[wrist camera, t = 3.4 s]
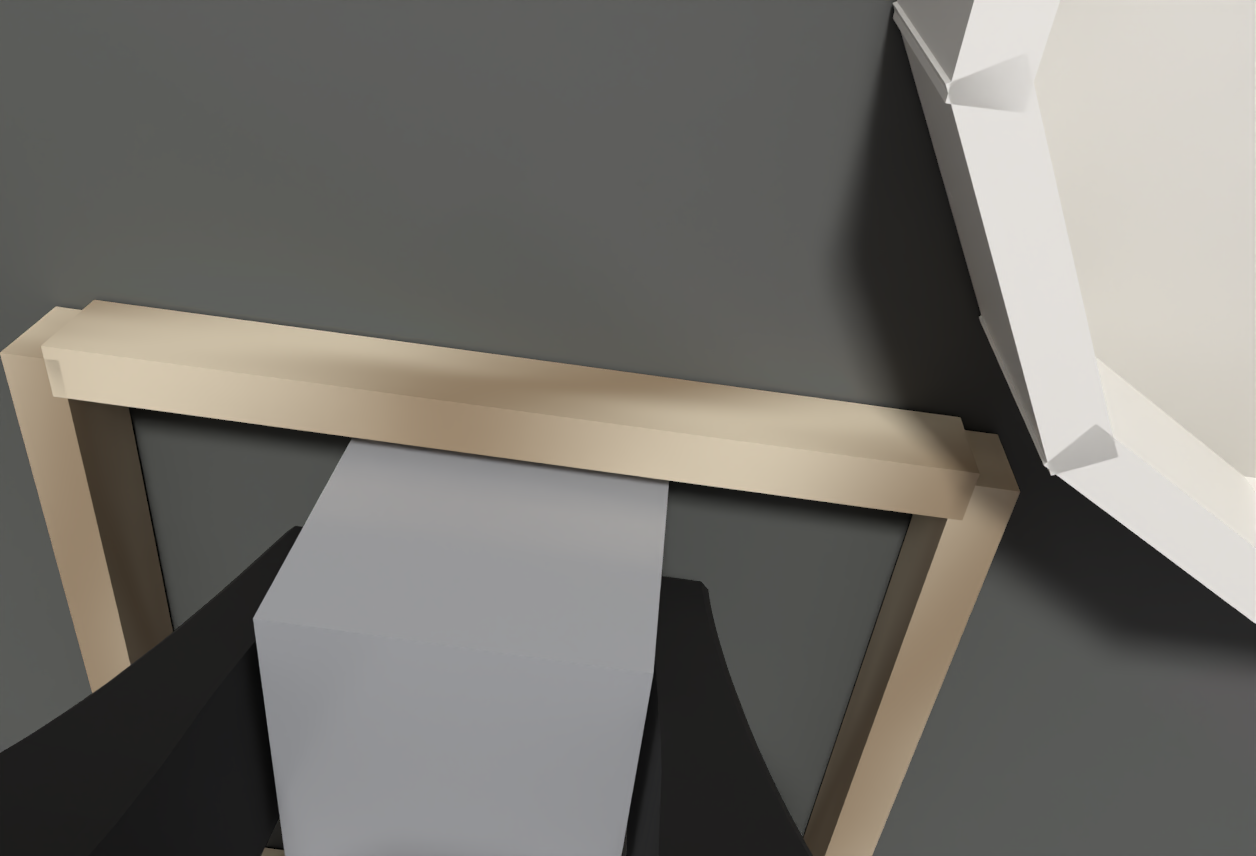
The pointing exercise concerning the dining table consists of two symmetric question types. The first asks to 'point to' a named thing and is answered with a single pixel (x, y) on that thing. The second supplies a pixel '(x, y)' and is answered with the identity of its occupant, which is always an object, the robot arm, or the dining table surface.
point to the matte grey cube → (462, 656)
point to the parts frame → (522, 430)
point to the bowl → (1113, 246)
